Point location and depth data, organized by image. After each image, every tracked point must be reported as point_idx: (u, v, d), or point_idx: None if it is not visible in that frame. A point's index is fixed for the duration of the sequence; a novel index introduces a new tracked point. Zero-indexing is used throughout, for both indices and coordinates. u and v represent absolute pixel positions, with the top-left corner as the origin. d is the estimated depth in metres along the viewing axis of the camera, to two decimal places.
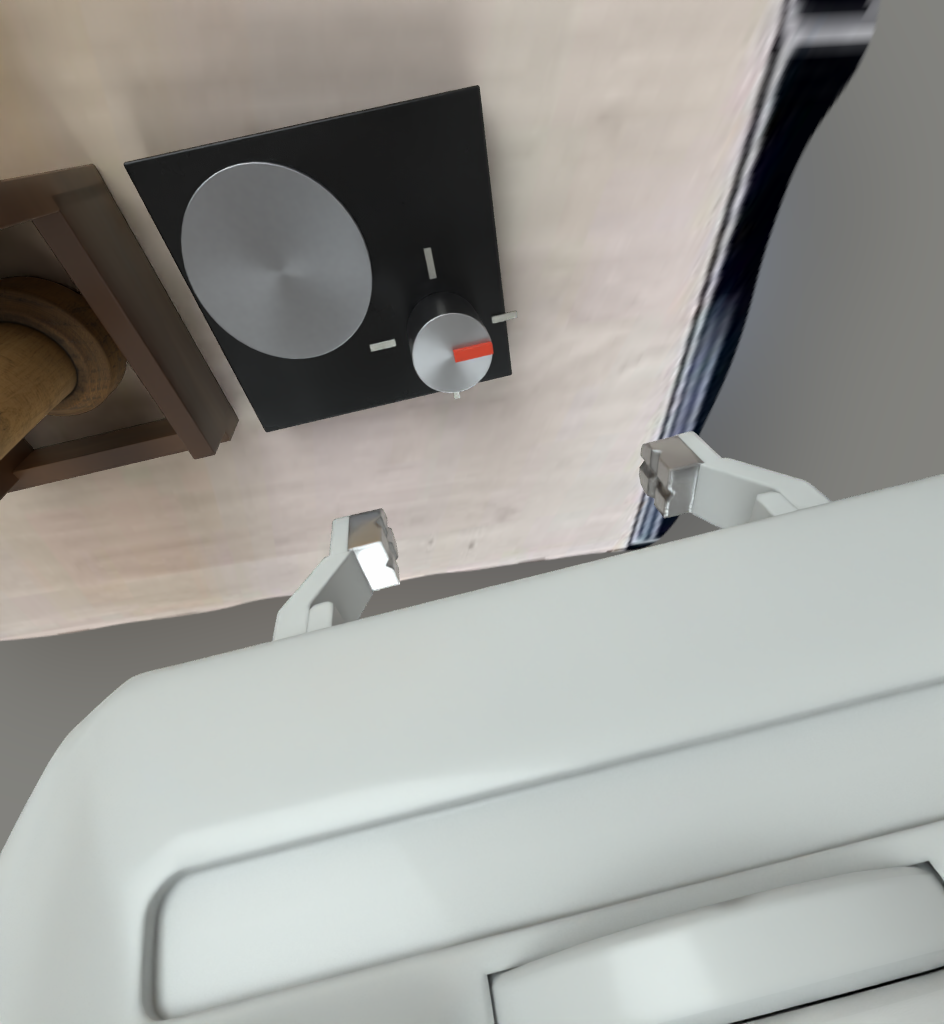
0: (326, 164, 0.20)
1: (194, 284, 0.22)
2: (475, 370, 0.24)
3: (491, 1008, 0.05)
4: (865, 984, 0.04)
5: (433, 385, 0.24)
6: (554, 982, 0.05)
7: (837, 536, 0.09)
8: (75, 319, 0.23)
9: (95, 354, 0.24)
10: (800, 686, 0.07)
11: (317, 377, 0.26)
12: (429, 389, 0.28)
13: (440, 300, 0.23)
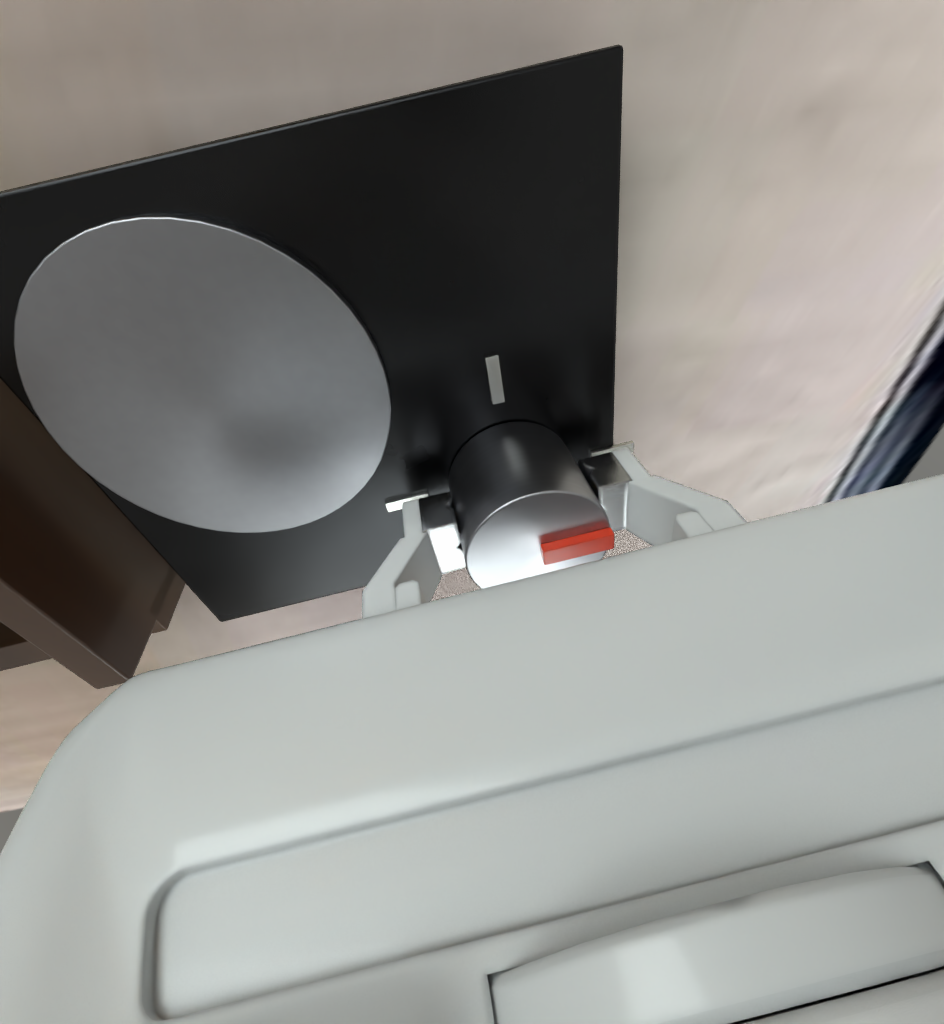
0: (299, 216, 0.10)
1: (59, 437, 0.12)
2: None
3: (491, 1008, 0.05)
4: (865, 983, 0.04)
5: None
6: (555, 982, 0.05)
7: (837, 536, 0.09)
8: None
9: None
10: (801, 686, 0.07)
11: (300, 550, 0.16)
12: None
13: (515, 447, 0.13)
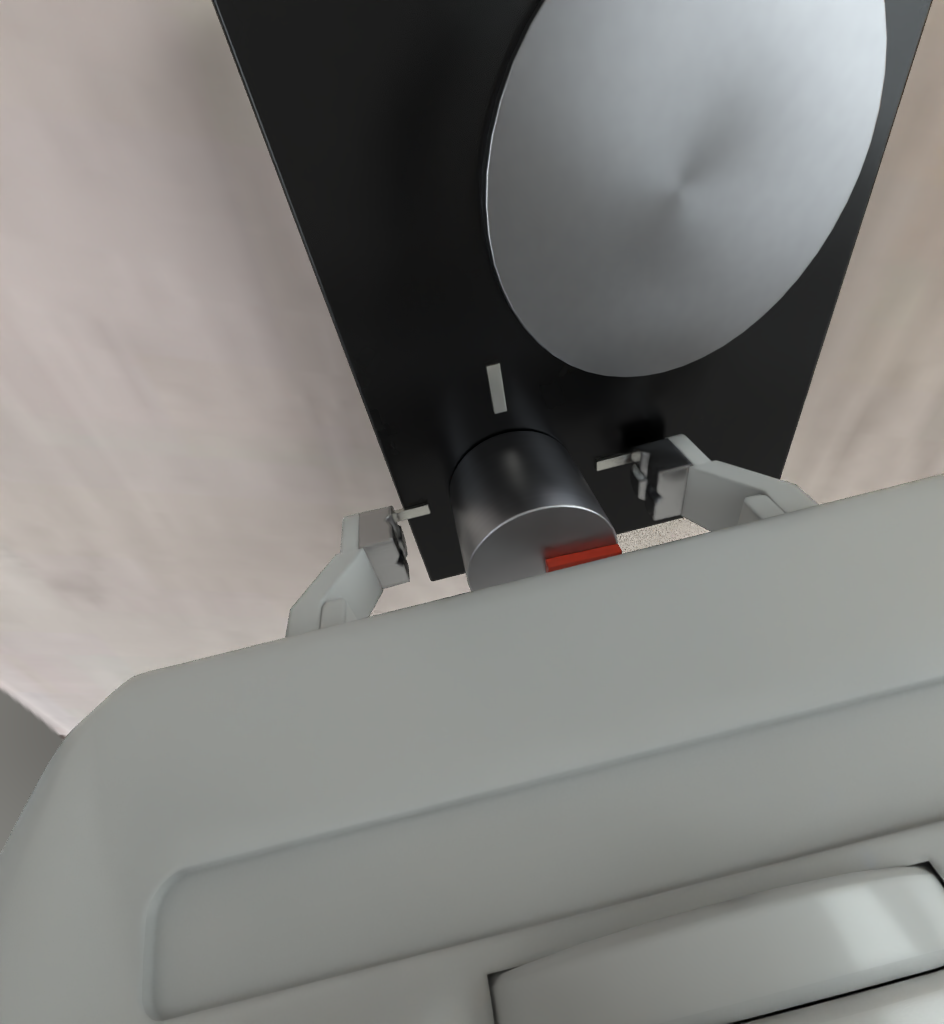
0: (787, 308, 0.12)
1: None
2: None
3: (491, 1008, 0.05)
4: (865, 984, 0.04)
5: None
6: (555, 983, 0.05)
7: (837, 536, 0.09)
8: None
9: None
10: (801, 686, 0.07)
11: (422, 226, 0.10)
12: (401, 471, 0.14)
13: (522, 458, 0.12)
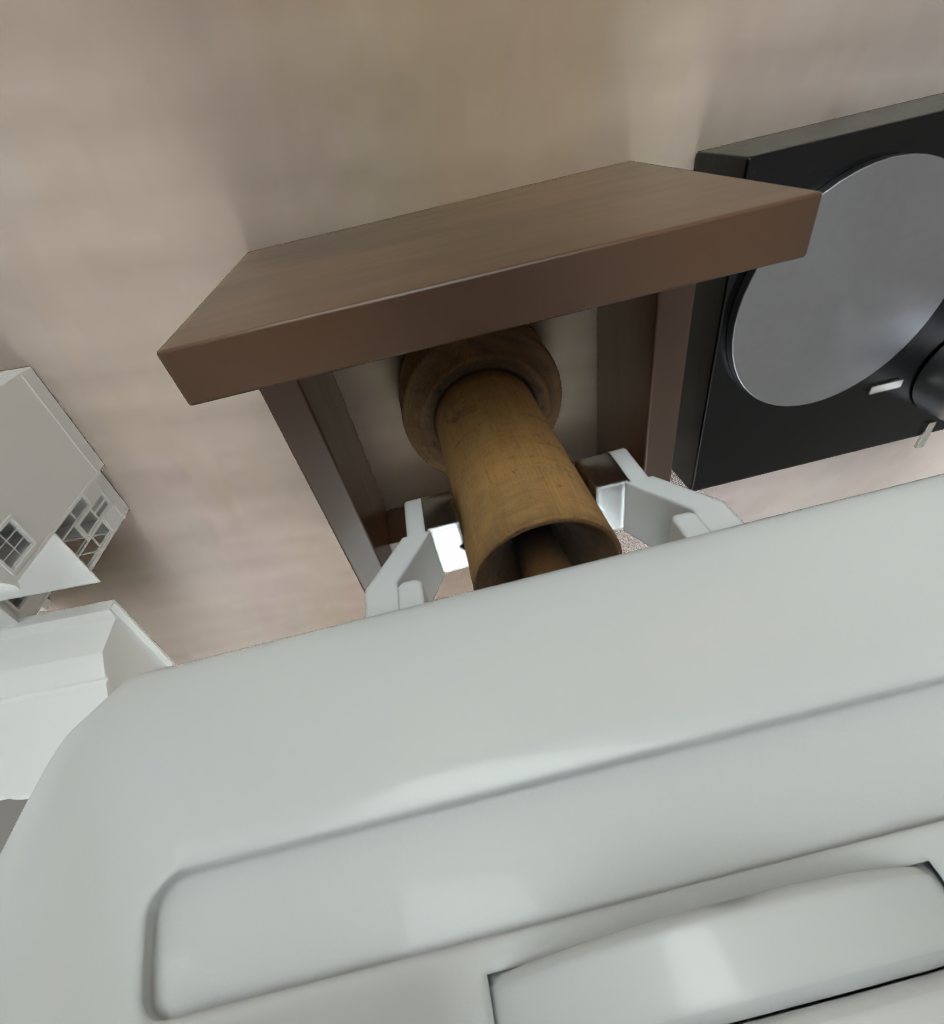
0: None
1: (741, 317, 0.17)
2: None
3: (491, 1008, 0.05)
4: (865, 984, 0.04)
5: None
6: (554, 982, 0.05)
7: (837, 536, 0.09)
8: (552, 362, 0.18)
9: (555, 404, 0.19)
10: (801, 686, 0.07)
11: (787, 427, 0.21)
12: (894, 437, 0.22)
13: None
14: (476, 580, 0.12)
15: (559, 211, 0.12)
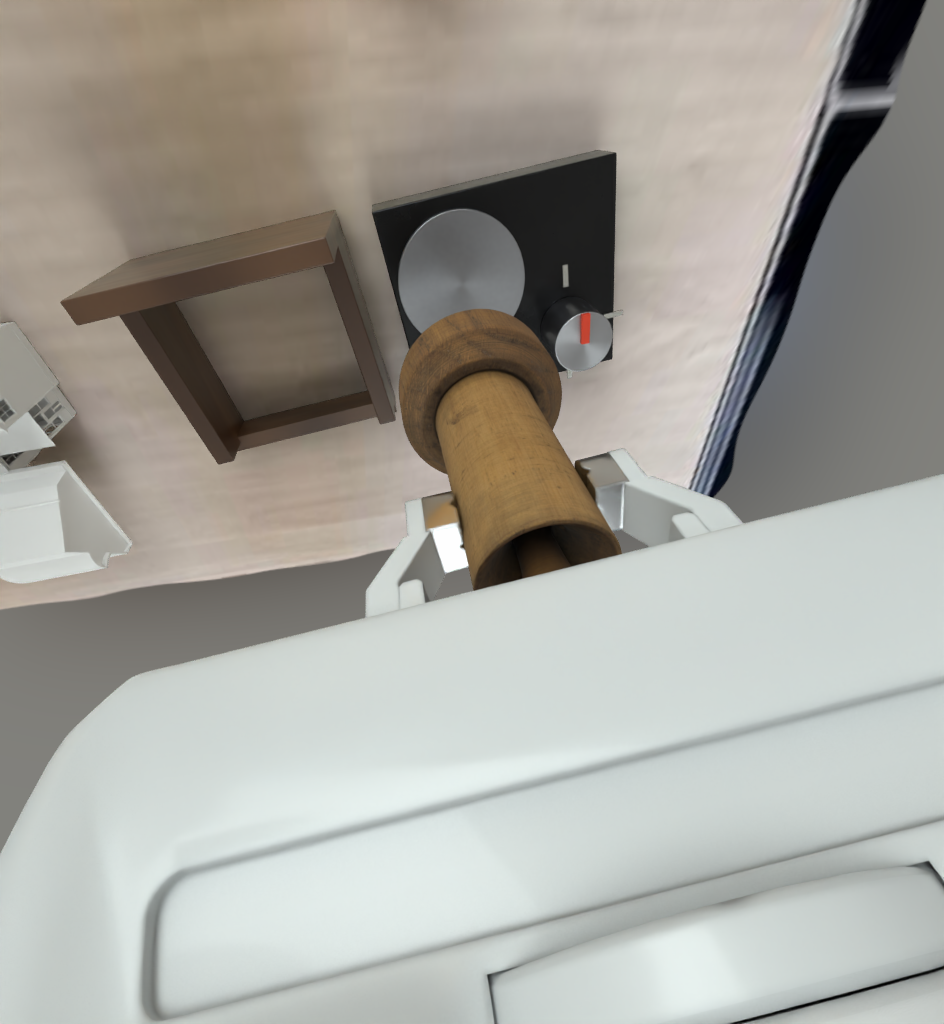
0: (505, 208, 0.29)
1: (402, 294, 0.30)
2: (599, 325, 0.31)
3: (491, 1008, 0.05)
4: (865, 984, 0.04)
5: (601, 357, 0.32)
6: (554, 982, 0.05)
7: (837, 536, 0.09)
8: (553, 363, 0.18)
9: (555, 406, 0.19)
10: (801, 686, 0.07)
11: None
12: None
13: (546, 336, 0.33)
14: (476, 581, 0.12)
15: (256, 241, 0.26)
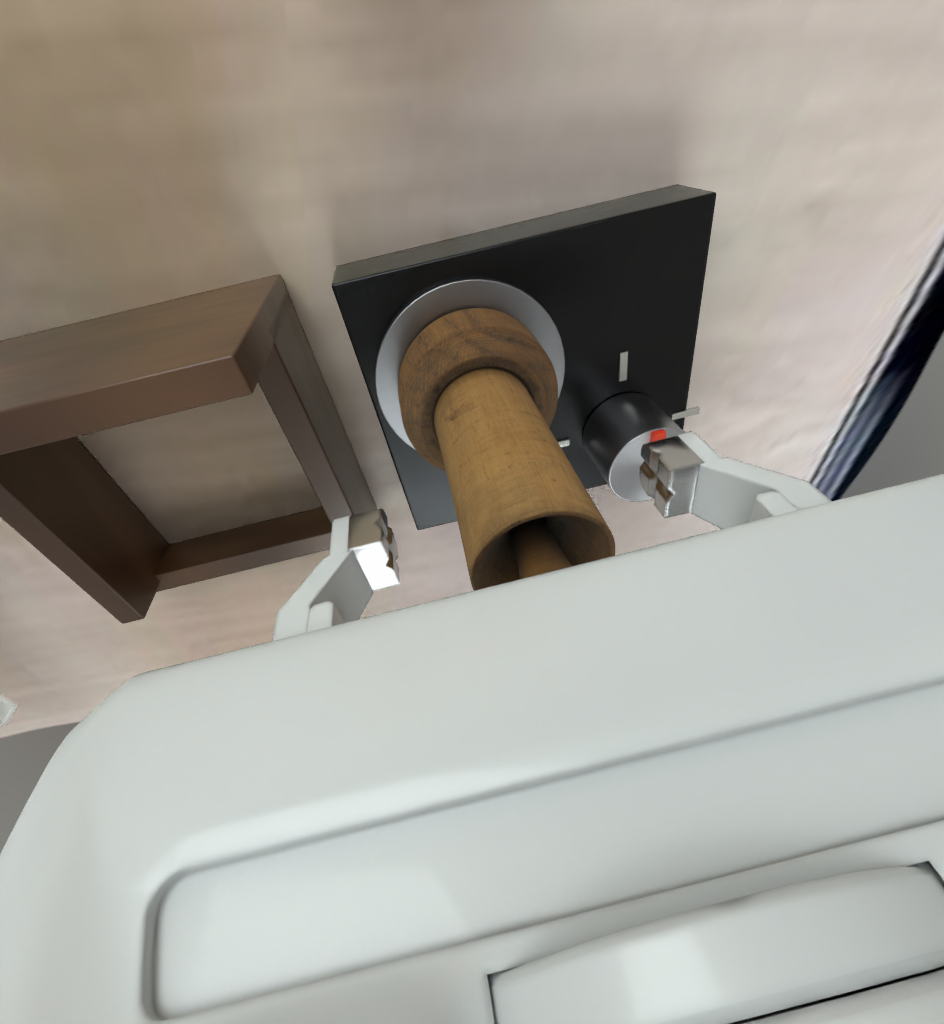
0: (539, 276, 0.19)
1: (381, 398, 0.20)
2: None
3: (491, 1008, 0.05)
4: (864, 984, 0.04)
5: None
6: (554, 982, 0.05)
7: (837, 536, 0.09)
8: (549, 361, 0.18)
9: (552, 403, 0.19)
10: (800, 685, 0.07)
11: None
12: (591, 483, 0.26)
13: (592, 450, 0.23)
14: (473, 572, 0.12)
15: (134, 342, 0.16)
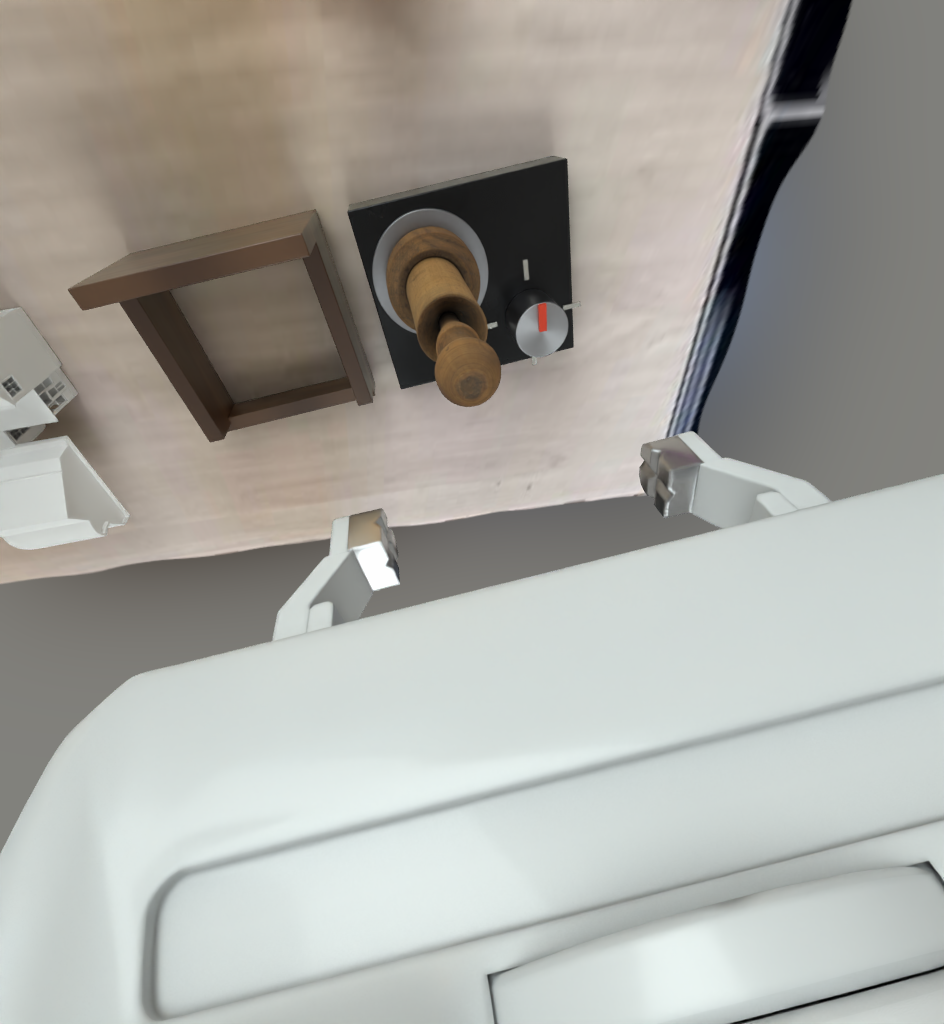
0: (468, 208, 0.32)
1: (376, 285, 0.34)
2: (555, 314, 0.34)
3: (491, 1008, 0.05)
4: (865, 983, 0.04)
5: (559, 344, 0.35)
6: (555, 983, 0.05)
7: (837, 536, 0.09)
8: (472, 256, 0.31)
9: (476, 284, 0.32)
10: (800, 685, 0.07)
11: None
12: (515, 358, 0.39)
13: (509, 325, 0.36)
14: (418, 330, 0.25)
15: (242, 237, 0.29)
